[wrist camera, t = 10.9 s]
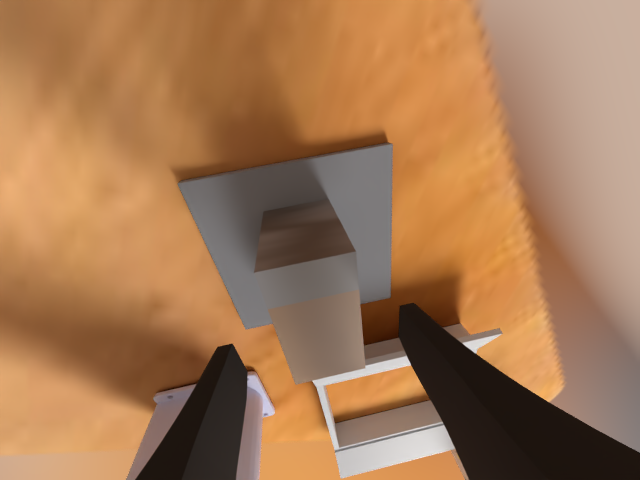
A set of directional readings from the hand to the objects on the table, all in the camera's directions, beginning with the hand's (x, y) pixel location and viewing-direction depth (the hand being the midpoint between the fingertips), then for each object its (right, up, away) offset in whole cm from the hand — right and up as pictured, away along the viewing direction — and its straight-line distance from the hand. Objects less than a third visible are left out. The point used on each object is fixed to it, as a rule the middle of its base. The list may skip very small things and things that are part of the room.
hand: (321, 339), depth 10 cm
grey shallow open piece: (+8, -12, +17) cm, 22 cm away
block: (-1, +3, +6) cm, 7 cm away
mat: (-1, +4, +6) cm, 7 cm away
